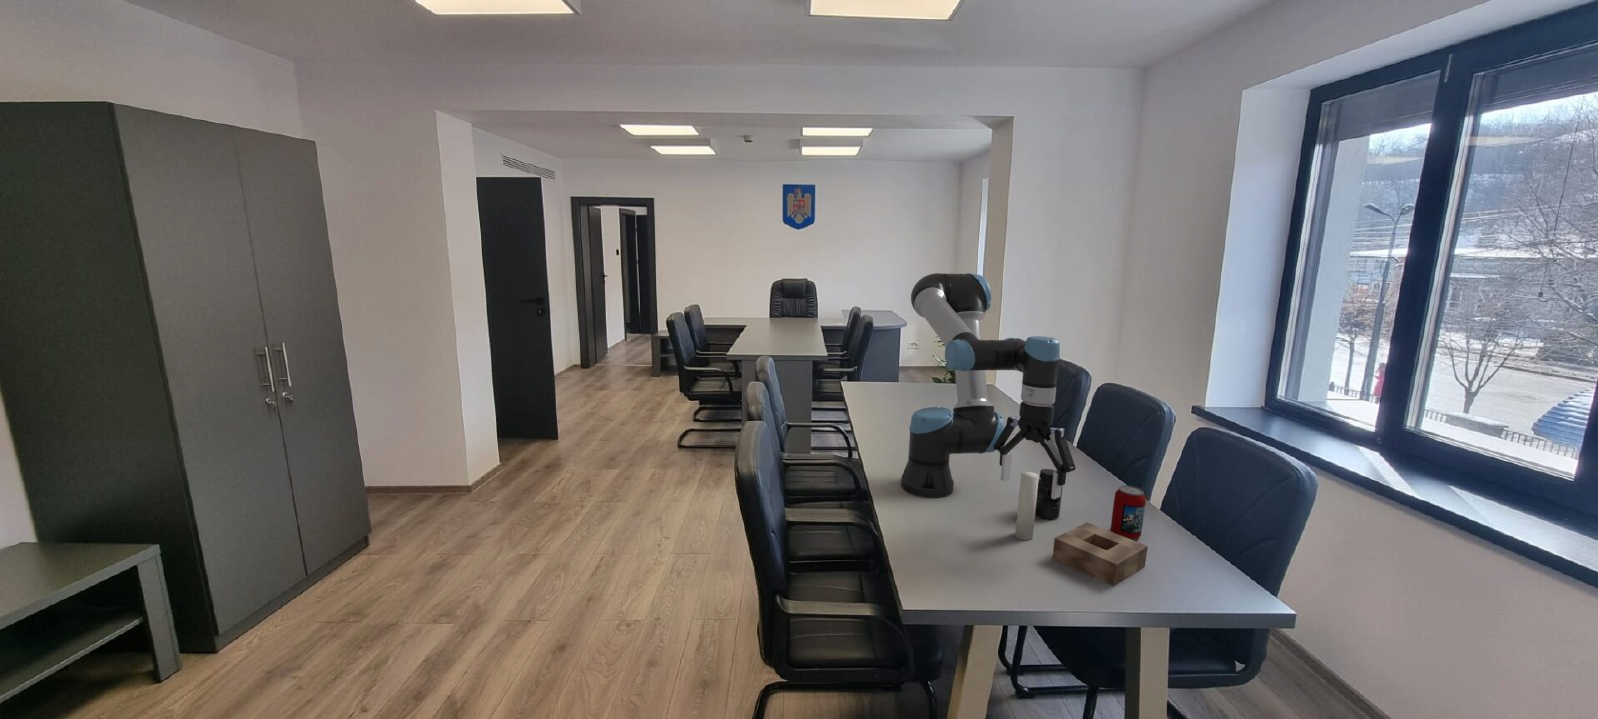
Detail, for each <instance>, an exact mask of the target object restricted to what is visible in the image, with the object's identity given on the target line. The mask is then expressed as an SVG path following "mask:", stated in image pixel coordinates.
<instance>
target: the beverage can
mask: <svg viewBox="0 0 1598 719" xmlns="http://www.w3.org/2000/svg"><path fill="white" fill-rule="evenodd" d="M1146 502H1147V498H1146V496H1145V494H1144V491H1143V489H1141V488H1139V487H1136V486H1131V485H1120V486H1119V487H1118V489H1117V490H1116V491H1115V492H1114V499H1113V507H1112V513H1111V514H1112V515H1111V523H1110V532H1113V533H1115V534H1118V535H1121V536H1123V537H1126V538H1128V539H1131V540H1136V539H1139V538H1141V536H1142V531H1143V524H1144V519H1145V518H1144V517H1145V511H1146V510H1145V509H1146Z"/></svg>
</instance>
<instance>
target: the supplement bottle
mask: <svg viewBox="0 0 1598 719" xmlns="http://www.w3.org/2000/svg"><path fill="white" fill-rule="evenodd" d="M1054 471H1056V470H1055V469H1050V468H1042V469H1040V473H1039V474H1038V475H1039V480H1038V490H1037V499H1036V509H1035V516H1036V517H1038V518H1041V519H1045V520H1055V519H1058V518H1059V516H1060V512H1061V506H1062V504H1061V503H1062V496H1063V486H1062V487H1061V497H1058V498H1056V499H1052V498H1051V494H1052V484H1053V474H1054Z"/></svg>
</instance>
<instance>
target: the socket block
mask: <svg viewBox="0 0 1598 719" xmlns="http://www.w3.org/2000/svg"><path fill="white" fill-rule="evenodd" d="M1053 540H1054V542H1053V548H1052V549H1053V550H1052V559H1053V560H1056V561H1058V562H1060V563H1062V564H1064V565H1067V566H1069V567H1071V568H1073V569H1075V570H1077V571H1080V572H1082V573H1084V574H1086V575H1088V576H1090V577H1092V578H1095V579H1097V580H1100V581H1101V582H1104V583H1106V584H1108V585H1110V586H1112V587H1115V586H1117V585H1118V584H1120V583H1122V582H1123V581H1124V580H1126V579H1128V578H1129V577H1131V576H1132V575H1133V574H1136V573H1137V572H1139V571H1140V570H1142V569H1144V568H1145V567H1146V562H1147V554H1148V547H1149V546H1148V545H1146V544H1143V543H1142V542H1141V543H1140V542H1138V541H1135V539H1133V540H1131V539H1128V538H1126V537H1123V536H1121V535H1118V534H1115V533H1113V532H1112V531H1111V530H1108V529H1105V528H1103V527H1099V526H1097V525H1094V524H1092V523H1089V522H1085V523H1082V524H1080V525H1078V526H1076V527H1074V528H1073V529H1071V530H1067V531H1066V532H1064V533H1062V534H1060V535H1058V536H1056V537H1054V539H1053Z"/></svg>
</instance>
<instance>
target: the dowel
mask: <svg viewBox="0 0 1598 719" xmlns="http://www.w3.org/2000/svg"><path fill="white" fill-rule="evenodd" d="M1039 475H1040V474H1038V473H1035V472H1033V471H1022V472H1021V473H1020V480H1019V481H1020V483H1019V490H1018V492H1019V494H1018V504H1017V512H1016V514H1017V515H1016V523H1015V524H1016V525H1015V533H1014V535H1015V537H1016V538H1017V539H1019V540H1022V541H1023V540H1024V541H1031V540H1033V538H1034V537H1033V536H1034V529H1035V528H1034V527H1035V516H1036V515H1035V509H1036V499H1037V490H1038V480H1039V479H1040V477H1039Z"/></svg>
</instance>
